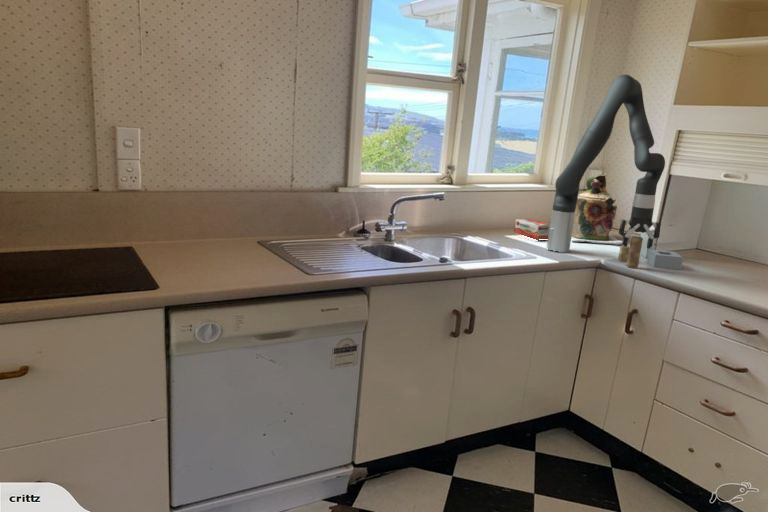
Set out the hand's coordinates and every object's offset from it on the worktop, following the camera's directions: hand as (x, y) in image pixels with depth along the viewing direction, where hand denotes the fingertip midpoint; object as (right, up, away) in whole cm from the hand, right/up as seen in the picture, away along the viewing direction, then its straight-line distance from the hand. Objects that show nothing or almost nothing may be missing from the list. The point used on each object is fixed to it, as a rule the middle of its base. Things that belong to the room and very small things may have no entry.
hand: (636, 247), depth 212 cm
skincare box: (+14, -4, +23) cm, 27 cm away
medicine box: (-29, +5, +47) cm, 55 cm away
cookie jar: (+2, +5, +53) cm, 54 cm away
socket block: (+14, -7, +8) cm, 18 cm away
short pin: (0, -5, +11) cm, 13 cm away
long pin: (-1, -8, +2) cm, 8 cm away
